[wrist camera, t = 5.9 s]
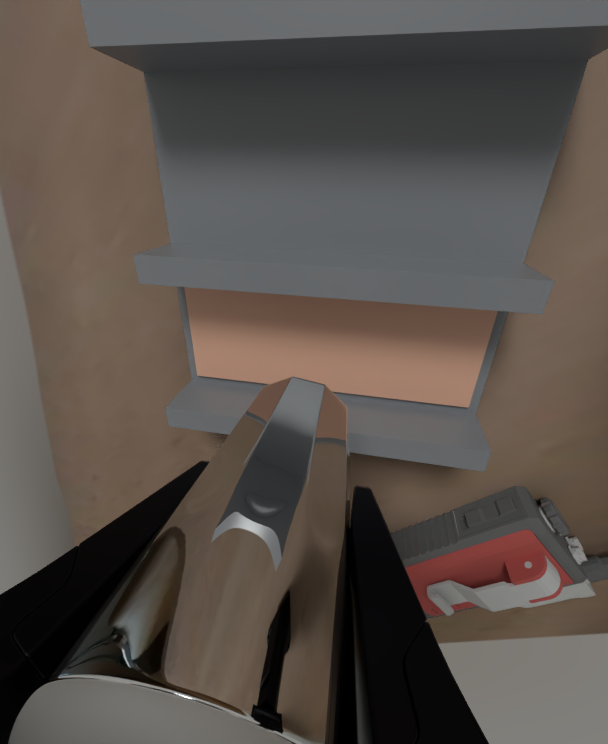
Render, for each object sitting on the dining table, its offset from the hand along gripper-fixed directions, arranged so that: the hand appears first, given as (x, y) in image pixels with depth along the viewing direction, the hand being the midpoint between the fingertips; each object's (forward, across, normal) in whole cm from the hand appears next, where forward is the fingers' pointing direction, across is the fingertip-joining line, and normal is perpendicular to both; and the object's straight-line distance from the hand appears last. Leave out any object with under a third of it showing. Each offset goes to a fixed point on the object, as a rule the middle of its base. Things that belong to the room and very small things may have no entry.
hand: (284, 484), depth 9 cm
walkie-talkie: (+11, -13, +13) cm, 22 cm away
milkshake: (+3, 0, 0) cm, 3 cm away
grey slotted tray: (+11, 0, -4) cm, 11 cm away
